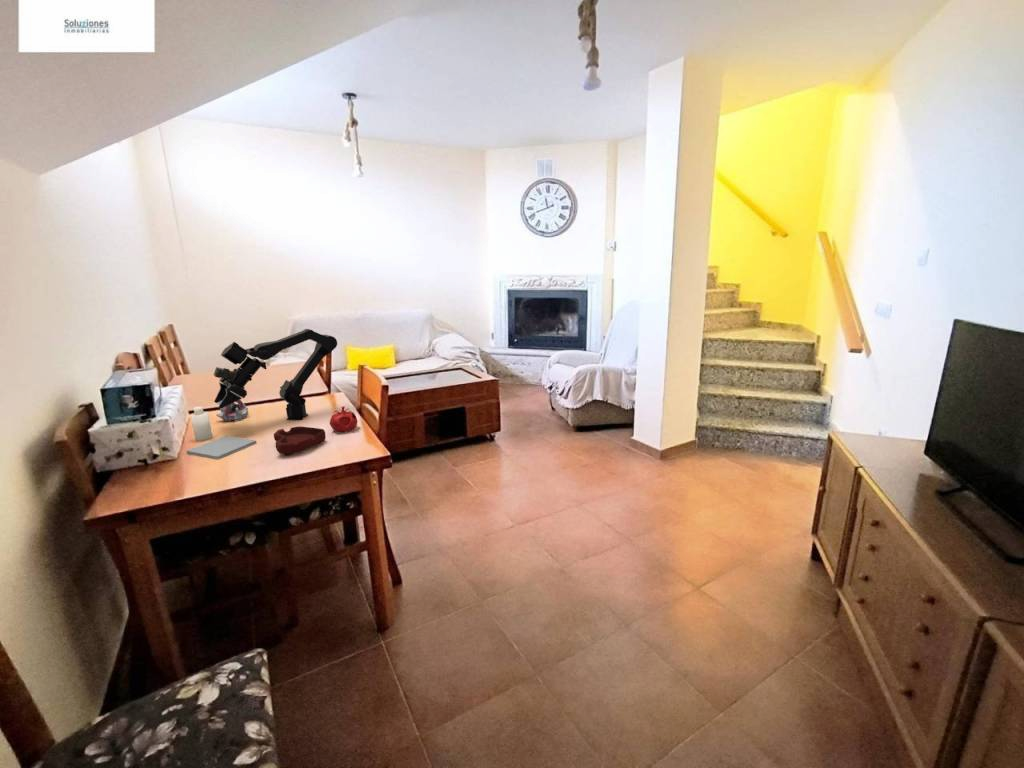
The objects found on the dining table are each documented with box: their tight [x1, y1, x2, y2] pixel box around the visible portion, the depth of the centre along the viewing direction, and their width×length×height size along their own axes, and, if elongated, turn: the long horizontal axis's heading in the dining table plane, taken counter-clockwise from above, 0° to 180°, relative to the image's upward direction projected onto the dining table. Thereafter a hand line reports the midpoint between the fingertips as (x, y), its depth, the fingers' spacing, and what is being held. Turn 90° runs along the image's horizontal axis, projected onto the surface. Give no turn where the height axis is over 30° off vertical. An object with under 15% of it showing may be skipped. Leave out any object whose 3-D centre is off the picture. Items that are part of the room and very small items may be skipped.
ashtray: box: [273, 426, 326, 457], centre depth 164 cm, size 18×16×5 cm
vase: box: [190, 405, 214, 442], centre depth 172 cm, size 5×5×12 cm
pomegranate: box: [329, 406, 358, 433], centre depth 179 cm, size 10×10×9 cm
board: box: [185, 435, 257, 460], centre depth 164 cm, size 15×15×1 cm
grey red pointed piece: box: [216, 399, 249, 422], centre depth 194 cm, size 11×11×12 cm
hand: (217, 405), depth 175 cm, fingers open, 9 cm apart
